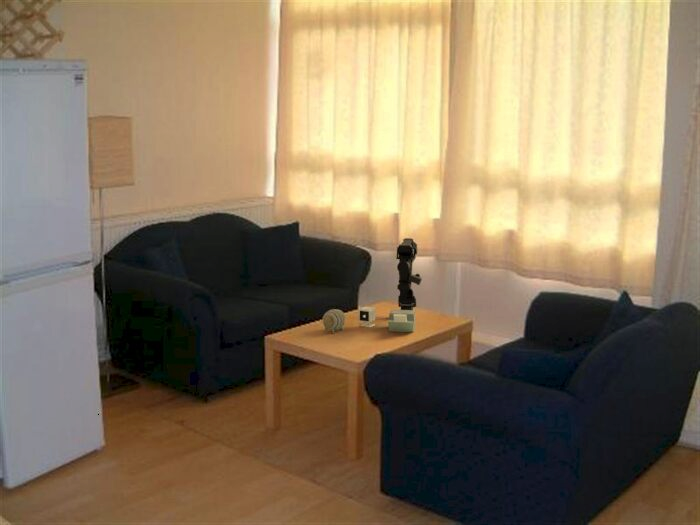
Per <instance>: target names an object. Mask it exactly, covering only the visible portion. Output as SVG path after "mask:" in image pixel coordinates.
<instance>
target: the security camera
mask: <svg viewBox="0 0 700 525" xmlns="http://www.w3.org/2000/svg"><path fill="white" fill-rule="evenodd" d="M375 320H376V307H371V306H364V307H361V308H359V309H358V321H359V322H360V323H363V324H361V325H360V327H365V328H372V327H374V326H376V323H372V322H373V321H375Z"/></svg>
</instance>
